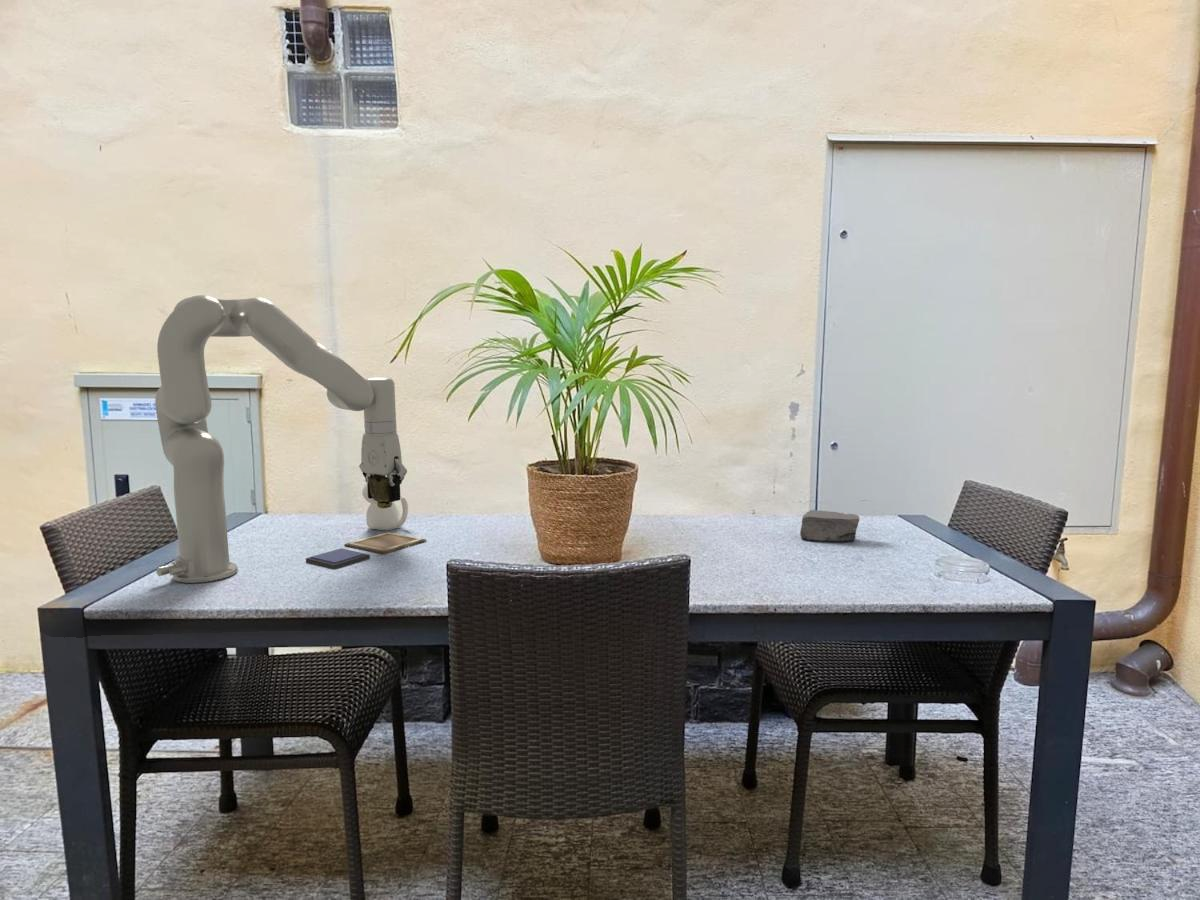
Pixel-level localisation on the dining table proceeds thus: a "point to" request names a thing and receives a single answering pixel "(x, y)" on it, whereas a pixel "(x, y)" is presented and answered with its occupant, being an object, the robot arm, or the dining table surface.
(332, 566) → the ink pad
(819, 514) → the decorative stone
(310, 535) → the dining table surface
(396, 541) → the marked board
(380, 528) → the cat figurine
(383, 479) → the cup
